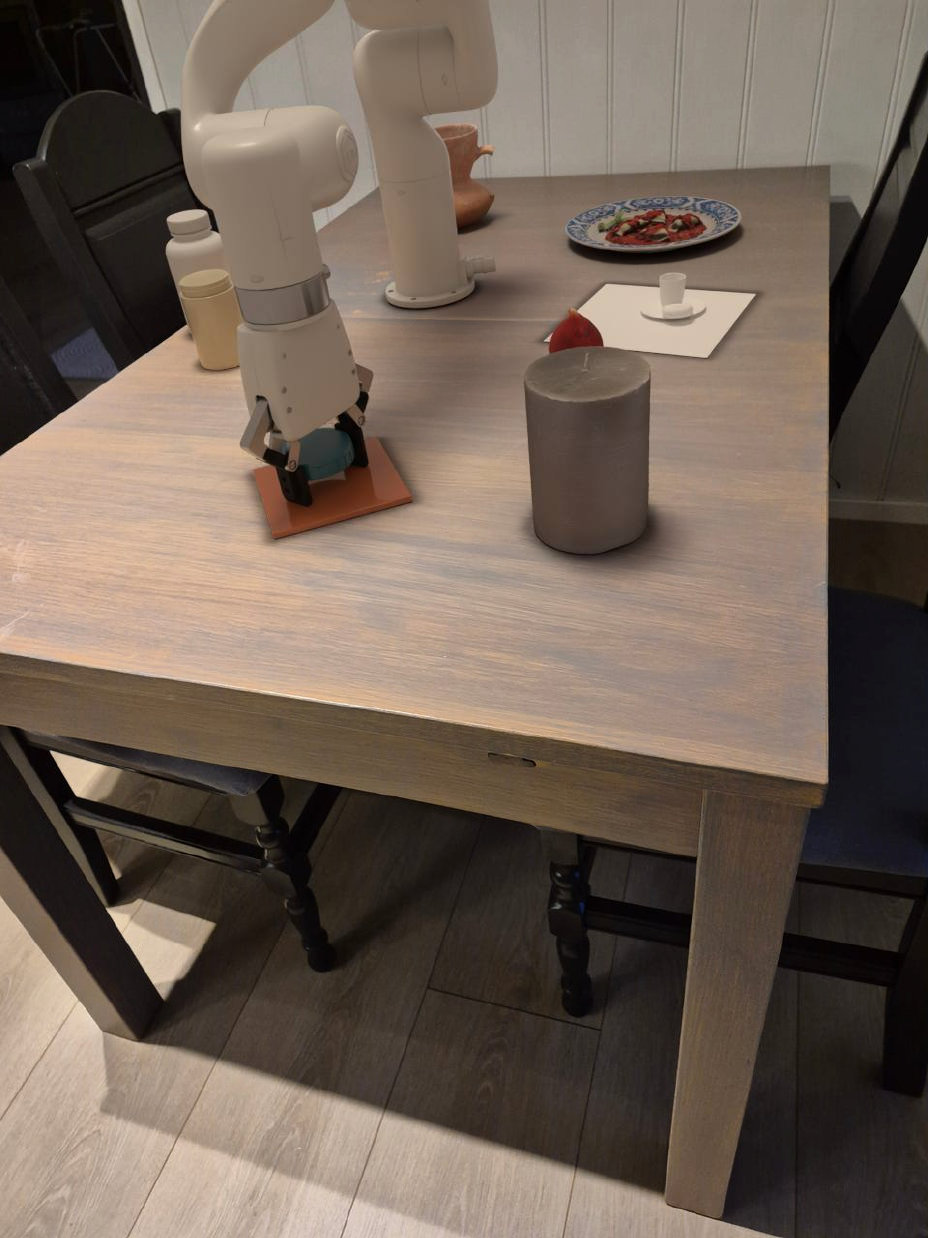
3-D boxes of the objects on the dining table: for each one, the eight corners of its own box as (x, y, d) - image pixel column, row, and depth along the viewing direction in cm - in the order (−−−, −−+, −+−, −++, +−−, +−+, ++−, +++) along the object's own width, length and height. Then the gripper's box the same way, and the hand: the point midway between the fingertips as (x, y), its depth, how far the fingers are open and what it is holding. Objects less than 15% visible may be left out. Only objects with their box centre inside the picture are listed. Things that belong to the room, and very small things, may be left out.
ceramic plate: (778, 227, 130) (780, 206, 128) (648, 277, 120) (648, 254, 118) (654, 201, 147) (654, 182, 145) (531, 242, 138) (530, 222, 136)
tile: (378, 442, 91) (376, 437, 91) (412, 501, 82) (411, 495, 81) (254, 474, 89) (252, 469, 89) (274, 539, 79) (272, 533, 79)
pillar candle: (553, 487, 81) (544, 326, 71) (660, 499, 77) (665, 331, 68) (517, 547, 74) (501, 378, 64) (632, 563, 70) (634, 387, 61)
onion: (608, 370, 99) (608, 298, 94) (597, 392, 95) (596, 319, 90) (557, 368, 100) (554, 298, 96) (544, 390, 96) (540, 318, 91)
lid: (352, 438, 87) (349, 422, 86) (356, 473, 81) (352, 457, 80) (278, 450, 87) (274, 434, 86) (276, 487, 81) (272, 470, 80)
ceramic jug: (500, 206, 156) (492, 115, 147) (500, 230, 145) (492, 133, 136) (399, 218, 158) (385, 128, 149) (391, 242, 146) (376, 147, 137)
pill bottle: (234, 338, 120) (201, 222, 110) (180, 340, 122) (143, 225, 112) (256, 316, 126) (226, 203, 116) (204, 318, 127) (171, 207, 118)
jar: (242, 343, 118) (220, 263, 111) (261, 358, 113) (239, 275, 107) (194, 359, 116) (168, 278, 109) (211, 374, 111) (185, 291, 104)
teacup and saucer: (691, 327, 105) (693, 293, 102) (627, 321, 109) (627, 288, 106) (713, 300, 111) (716, 267, 108) (652, 296, 114) (653, 264, 112)
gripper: (322, 259, 81) (359, 435, 92) (174, 329, 71) (234, 517, 82) (384, 267, 77) (414, 450, 88) (236, 342, 67) (291, 538, 78)
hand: (327, 481), depth 85 cm, fingers closed on lid, 7 cm apart
